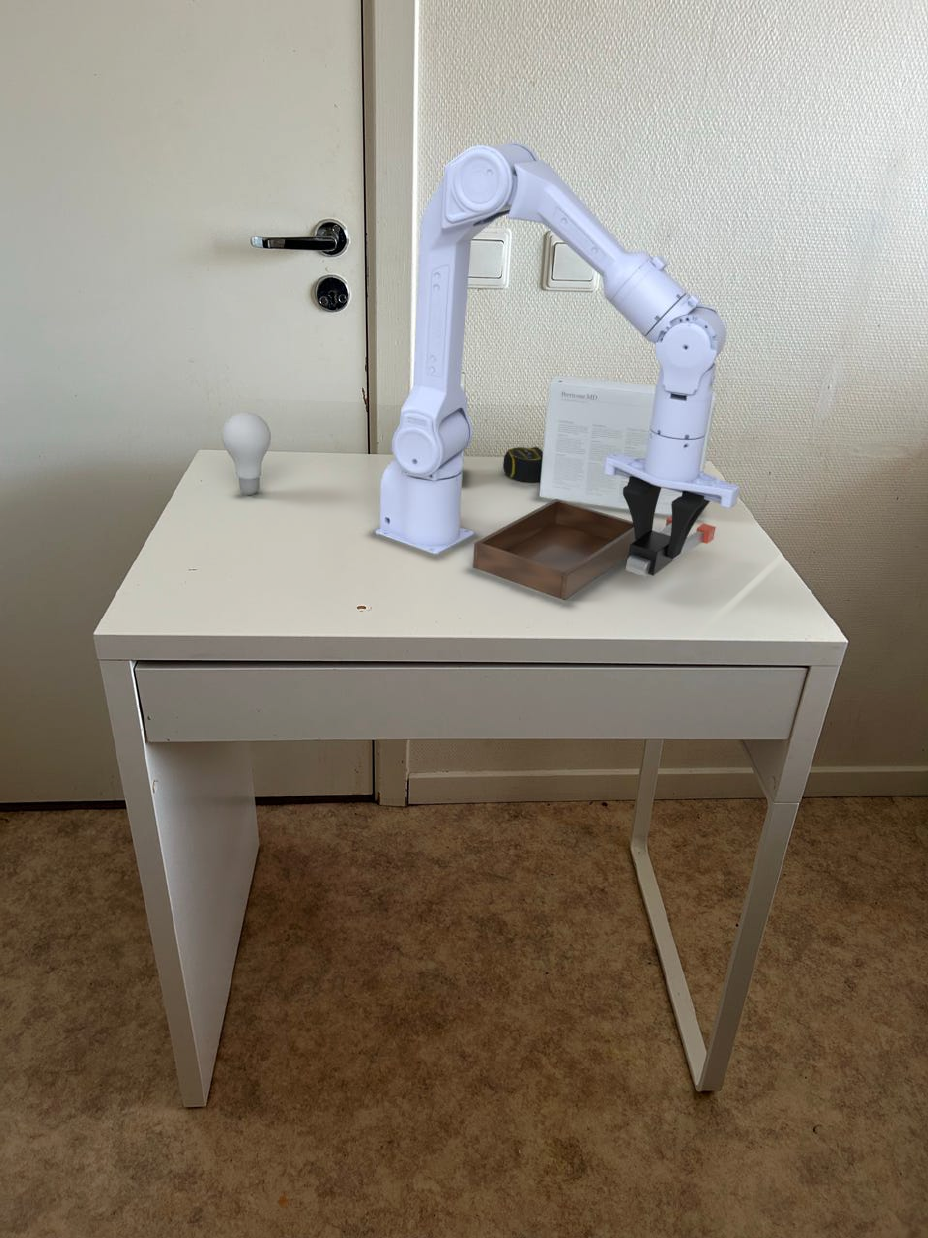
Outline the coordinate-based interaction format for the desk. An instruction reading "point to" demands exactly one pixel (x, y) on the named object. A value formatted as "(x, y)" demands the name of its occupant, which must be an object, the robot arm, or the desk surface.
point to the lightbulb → (247, 447)
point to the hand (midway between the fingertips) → (658, 550)
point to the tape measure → (523, 464)
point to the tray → (556, 548)
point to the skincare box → (598, 439)
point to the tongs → (662, 548)
